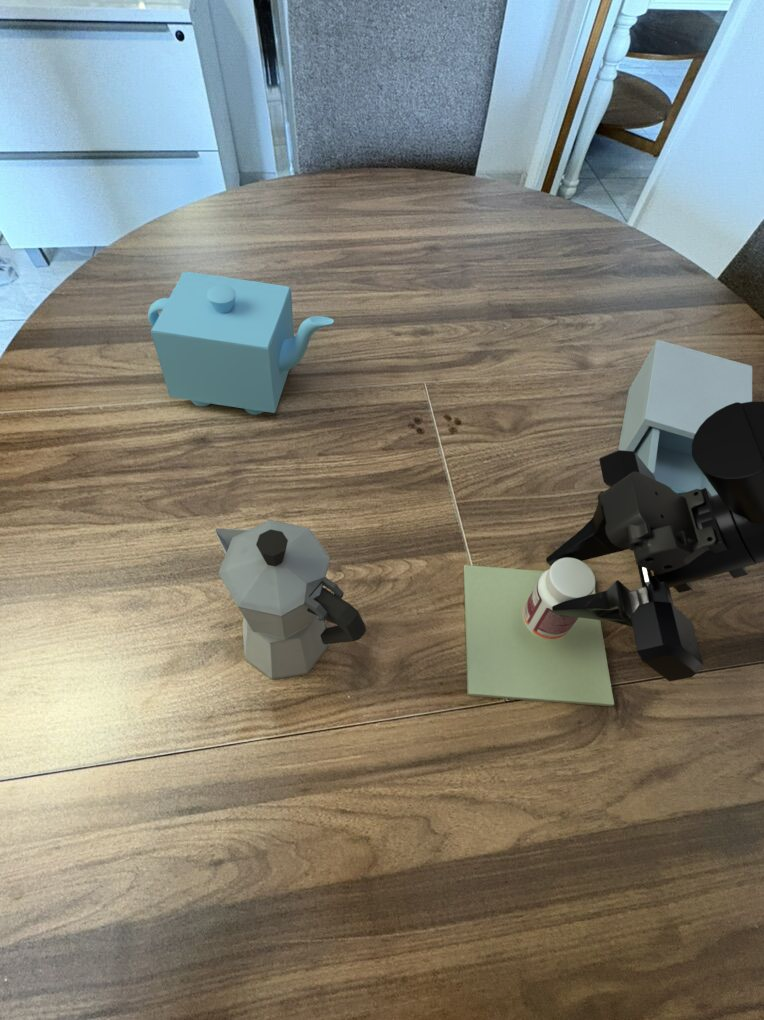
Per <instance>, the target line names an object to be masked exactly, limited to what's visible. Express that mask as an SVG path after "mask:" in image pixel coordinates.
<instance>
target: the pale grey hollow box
mask: <svg viewBox="0 0 764 1020" xmlns="http://www.w3.org/2000/svg"><path fill="white" fill-rule="evenodd" d="M626 397H627V398H626V403H625V408H624V414H623V419H622V426H621V432H620V438H619V444H618V448H617V450H626V451H634V450H635V448H636V447H637V445H638V444H639V442H640V440H641V439H642V437H643V436H644V434H645V432H646V431H647V429H648V428H649V426H651V427H655V428H658V429H661V430H665V431H668V432H671V433H675V434H678V435H681V436H685V437H688V438H691V439H694V435H695V434H696V432H697V430H698V429H699V427H700V426H701V425H702V423H703V422H704V421H705V420H706V419H707V418H708V417H710V416H711V415H712V414H713V413H715V412H716V411H718V410H720V409H722V408H724V407H725V406H728V405H730V404H733V403H736V402H739V403H745V402H753V366H752V365H750V364H747V363H744V362H743V363H742V362H739V361H735V360H732V359H728V358H724V357H722V356H717V355H714V354H710V353H707V352H703V351H700V350H696V349H693V348H689V347H685V346H682V345H678V344H675V343H672V342H668V341H664V340H661V339H656V340H655V342H654V343H653V346H652V347H651V349H650V351H649V353H648V355H647V356H646V359H644V362H643V364H642V366H641V367H640V369H639V371H638V373H637V374H636V376H635V378H634V380H633V381H632V383H631V384H630V386H629V389H628V392H627V396H626Z"/></svg>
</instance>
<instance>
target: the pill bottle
mask: <svg viewBox="0 0 764 1020" xmlns="http://www.w3.org/2000/svg"><path fill="white" fill-rule="evenodd" d="M544 571H545V572H544V573H543V574H542V575H541V576H540V578H539V580H538V582H537V584H536V586H535V588H534V589H533V591H532V593H531V595H530V597H529V599H528V600H527V602H526V604H525V606H524V608H523V620H524V623H525V625H526V627H527V628H528V629H529V631H530V632H531V633H532V634H533V635H535V636H537V637H539V638H541V639H544V640H557V639H560V638H562V637H564V636H565V635H566V634H567V633H568V632H569V630H570V629H571V628H572V626H573V625H574V624H575V622H576V621H577V619H578V618H579V617H572V616H564V615H558V614H556V613H555V612H553V611H552V606H554V605H557V604H559V603H562V602H564V601H567V600H571V599H575V598H579V597H583V596H587V595H591V593H592V592H593V590H594V588H595V589H596V584H597V581H596V575H595V573H594V571H593V570H592V569H591V567H590V566H589V565H588V564H587V563H585V561H584V562H583V561H580V560H578V559H575V558H562V559H559V560H557V561H555V562H554V563H553V564H552V566H550V567H549V568H548V569H546V570H544Z"/></svg>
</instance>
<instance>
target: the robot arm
mask: <svg viewBox="0 0 764 1020" xmlns="http://www.w3.org/2000/svg"><path fill="white" fill-rule="evenodd" d="M692 456H693V459H694V461H695V463H696V464H697V465H698V467H699V468H700V470H701V471H702V473H703V474H704V475H705V477H706V478H707V480H708V481H709V482H710V484H711V485H712V487H713V488H714V489H715V491H716V492H717V495H714V496H711V494H710V493H709V491H708V490H707V489H706V488H704V489H701V490H699V489H695V490H692V491H689V492H685V493H676V492H674V491H673V490H672V489H671V488H670V487H669V486H667V485H665V484H663V483H661V482H658V481H656V480H655V476H654V475H653V474H652V473H651V471H650V470H649V469H648V468H647V467H646V465H645V464H644V463H643V462H642V460H641V459H640V458H639V457H638V455H637V454H636V453H635V452H634V451H626V450H618V449H617V450H615V451H613V452H610V453H607V454H606V455H603V456H601V457H599V460H598V461H599V465H600V470H601V475H602V480H603V481H602V482H603V483H604V484H605V485H606V486H607V487H609V488H607V489H605V490H604V491H603V490H602V491H600V492H599V493H598V495H597V505H596V508H595V510H594V514H593V516H592V518H591V519H590V520H588V522H587V523H586V524H584V526H583V527H582V528H581V529H580V530H579V531H578V532H576V533H575V534H574V535H573V536H572V537H570V538H569V539H568V540H567V541H565V542H564V543H563V544H562V545H560V546H559V547H558V548H557V549H555V551H553V552H552V553H551V554H549V555H548V556H547V557H546V560H545V561H546V564H548V565H549V566H550V567H551V566H552V564H553V563H554V562H555V561H557V560H559V559H562V558H575V559H578V560H580V561H582V562H583V561H584V562H585V561H587V560H591V559H595V558H599V557H603V556H604V557H605V556H606V555H611V554H614V553H615V554H616V553H619V552H623V551H627V550H630V551H633V555H634V559H635V564H636V566H637V570H638V574H639V579H640V583H641V587H639V588H637V589H634V590H630V589H629V588H628V587H627V586H625V584H624V583H622V582H621V581H620V580H619V579H617V580H616V581H614V582H613V583H612V584H611V585H610V586H609V587H608V588H607V589H606V590H605V591H604V590H603V591H599V592H596V593H595V594H591V595H587V596H583V597H579V598H575V599H571V600H567V601H564V602H562V603H559V604H557V605H554V606H552V611H553V612H555V613H556V614H558V615H564V616H572V617H579V618H587V619H595V620H600V621H602V622H609V623H613V624H619V625H623V626H626V627H630V628H632V631H633V637H634V642H635V647H636V651H637V654H638V655H639V658H640V660H641V662H643V663H645V665H647V666H648V667H649V668H651V669H652V670H653V671H655V672H656V673H657V674H658V675H660V676H661V677H663V678H664V679H665V680H666V681H668V682H674V681H679V680H680V681H681V680H684V679H685V680H686V679H690V678H693V677H694V676H695V675H696V674H698V672H699V671H700V670H701V669H702V668H703V667H704V661H703V657H702V654H701V650H700V647H699V646H700V645H699V642H698V638H697V634H696V631H695V627H694V623H693V622H692V621H691V620H690V619H689V618H688V617H687V616H686V615H685V614H684V613H682V612H681V610H679V608H677V606H676V605H675V604H674V601H673V597H672V593H671V588H673V589H675V591H676V592H677V593H679V594H681V593H684V592H689V591H692V590H693V587H692V584H691V583H693V582H696V581H701V580H704V579H707V578H711V577H714V576H715V577H716V576H718V575H721V574H726V573H729V574H730V576H731V577H732V578H733V579H738V578H740V577H745V576H748V575H749V572H748V570H747V568H748V567H750V566H754V565H759V564H761V563H764V401H752V402H745V403H739V402H736V403H733V404H730V405H728V406H725V407H724V408H722V409H720V410H718V411H716V412H715V413H713V414H712V415H711V416H710V417H708V418H707V419H706V420H705V421H704V422H703V423H702V425H701V426H700V427H699V429H698V430H697V432H696V434H695V435H694V439H693V442H692ZM652 572H653V574H652Z"/></svg>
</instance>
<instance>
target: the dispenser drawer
mask: <svg viewBox="0 0 764 1020" xmlns="http://www.w3.org/2000/svg"><path fill="white" fill-rule="evenodd" d="M692 442H693V439H691V438H688V437H685V436H681V435H678V434H675V433H671V432H668V431H665V430H661V429H658V428H655V427H651V426H649V428H648V429H647V431H646V432H645V434H644V436H643V437H642V439H641V440H640V442H639V444H638V445H637V447H636V448H635V450H634V452H635V453H636V454H637V455H638V457H639V458H640V459H641V460H642V462H643V463H644V464H645V465H646V467H647V468H648V469H649V470H650V471H651V473H652V474H653V475H654V476H655V480H656V481H658V482H661V483H663V484H665V485H667V486H669V487H670V488H671V489H672V490H673V491H674V492H676V493H685V492H689V491H692V490H695V489H699V490H701V489H704V488H706V489H707V490H708V491H709V493H710V494H711V496H714V495H717V492H716V491H715V489H714V488H713V487H712V485H711V484H710V482H709V481H708V480H707V478H706V477H705V475H704V474H703V473H702V471H701V470H700V468H699V467H698V465H697V464H696V463H695V461H694V459H693V456H692Z"/></svg>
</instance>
